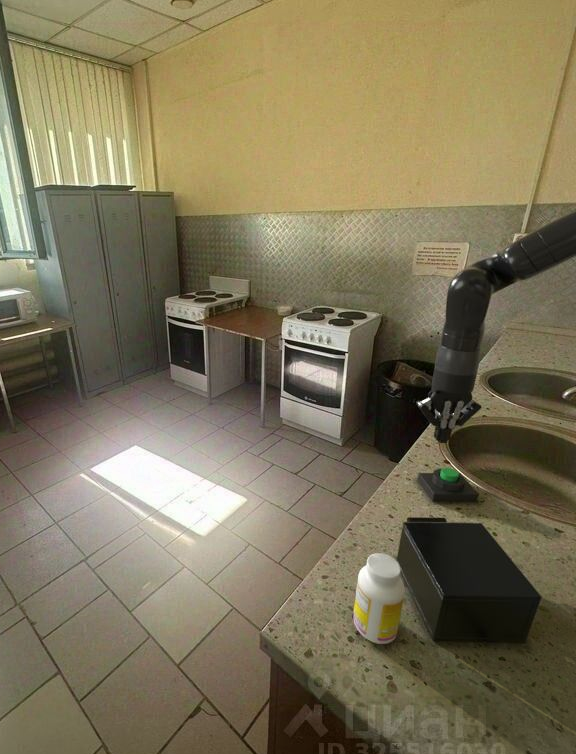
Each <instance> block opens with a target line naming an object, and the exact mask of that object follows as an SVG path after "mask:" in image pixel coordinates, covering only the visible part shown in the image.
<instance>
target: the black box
mask: <svg viewBox="0 0 576 754" xmlns="http://www.w3.org/2000/svg"><path fill="white" fill-rule="evenodd" d="M402 526H403V527H401V532H402V533H401V532H400V537H401V538H399V543H400V544H398V549H399V550H398V549H397V554H398V555H397V556H396V561H397V562H398V564H399V566H400V569H401V573H400V576H401V578H402V580H403V582H404V583H405V585H406V587H407V589H408V591H409V594H410V596H411V598H412V600H413V602H414V605H415V606H416V609H417V611H418V613H419V615H420V617H421V619H422V621H423V623H424V625H425V627H426V630H427V632H428V634H429V636H430V638H431V640H432V642H446V643H447V642H449V643H451V642H452V643H491V644H492V643H493V644H497V643H498V644H526V641H527V638H528V636H529V633H530V630H531V628H532V625H533V621H534V619H535V616H536V614H537V612H538V608H539V605H540V602H541V600H542V595H541V594H540V593H539V591H538V590H537V588H535V586H534V585H533V584H532V583H531V582H530V581H529V580H528V578H527V577H526V575H524V573H523V572H522V571H521V569H519V567H518V566H517V564H515V562H514V561H513V560H512V558H511V557H510V556H509V555H508V554H507V553H506V551H505V550H504V549H503V548H502V546H501V545H500V544H499V543H498V541H497V540H496V539H495V538H494V536H493V535H492V534H491V533H490V532H489V531H488V529H487V528H486V527H485V526H484V524H483V523H481V522H473V523H403V522H402Z"/></svg>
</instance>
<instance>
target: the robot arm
mask: <svg viewBox="0 0 576 754" xmlns="http://www.w3.org/2000/svg"><path fill="white" fill-rule="evenodd" d="M574 258H576V210H574V211H572V212H569V213H567V214H564V215H563V216H560V217H558V218H556V219H554V220H552V221H549V222H548V223H545V224H543V225H542V226H540V227H538V228H536V229H534V230H533V231H531V232H529V233H527V234H525V235H523V236H522V237H520V238H519V239H517V240H515V241H513V242H512V243H510V244H508V245H507V246H505V247H504V248H502V249H501V250H499V251H496V252H495V253H492V254H490V255H488V256H486V257H484V258H482V259H480V260H478V261H476V262H474V263H471V264H470V265H468V266H466V267H464V268H462V269H461V270H460V271H458V272H457V273H456V274H455V275H454V276H453V277H452V278H451V280H450V282H449V284H448V289H447V292H446V293H447V294H446V303H445V319H444V323H443V328H442V332H441V338H440V342H439V343H440V344H439V347H438V349H437V353H436V357H435V361H434V368H433V373H432V374H433V375H432V380H431V389H430V391H429V392H428V394H427V398H425V399H423V400H419V399H418V400H417V401H416V403H415V404H416V406H417V408H418V409H419V410H420V412H421V413H422V414H423V416H424V417H425V419H426V420H427V421H428V422H429V423H430V424H431V425H432V426H433V427H434V432H433V438H434V439H435V441H437V443H439V444H448V442H449V441H450V439H451V436H452V432H453V429H454V428H455V427H457V426H459V427H462V426H463V425H464V424H466V423H467V422H468V421H470V419H472V417H473V416H475V414H477V413H478V412H479V411H481V409H482V405H481V404H480V403H479V402H477V401H475V400H474V399H473V394H472V392H474V390H475V385H476V379H477V375H478V371H479V367H480V361H481V351H482V347H483V341H484V337H485V330H486V322H485V321H486V317H487V314H488V310H489V306H490V304H491V303H490V302H491V299H492V295H494V294H496V293H498V292H499V291H502V290H504V289H506V288H507V287H510V286H511V285H514V284H515V283H518V282H522V281H526V280H530V279H532V278H534V277H537V276H539V275H540V274H543V273H545V272H547V271H549V270H551V269H553V268H555V267H558V266H560V265H562V264H564V263H566V262H567V261H570V260H572V259H574ZM432 407H433V408H434V413H435V416H434V414H433V413H432V412H431V410H432Z"/></svg>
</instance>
